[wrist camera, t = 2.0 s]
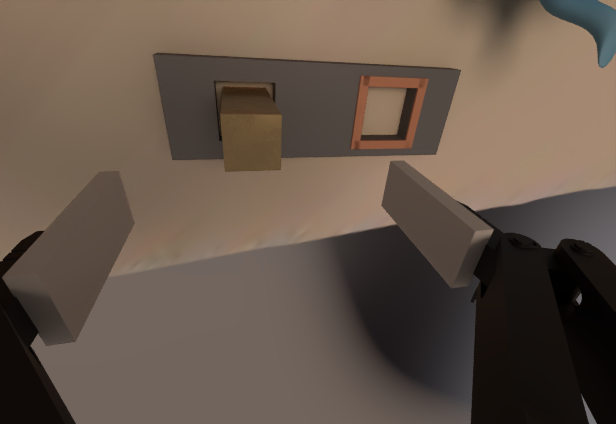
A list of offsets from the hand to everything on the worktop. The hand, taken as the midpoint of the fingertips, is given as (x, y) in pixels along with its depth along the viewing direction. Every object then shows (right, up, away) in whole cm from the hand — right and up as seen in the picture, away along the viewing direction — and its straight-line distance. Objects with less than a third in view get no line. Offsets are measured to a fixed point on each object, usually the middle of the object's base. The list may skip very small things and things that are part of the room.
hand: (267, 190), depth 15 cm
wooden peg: (-5, +10, +18) cm, 21 cm away
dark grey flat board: (+3, +11, +19) cm, 22 cm away
